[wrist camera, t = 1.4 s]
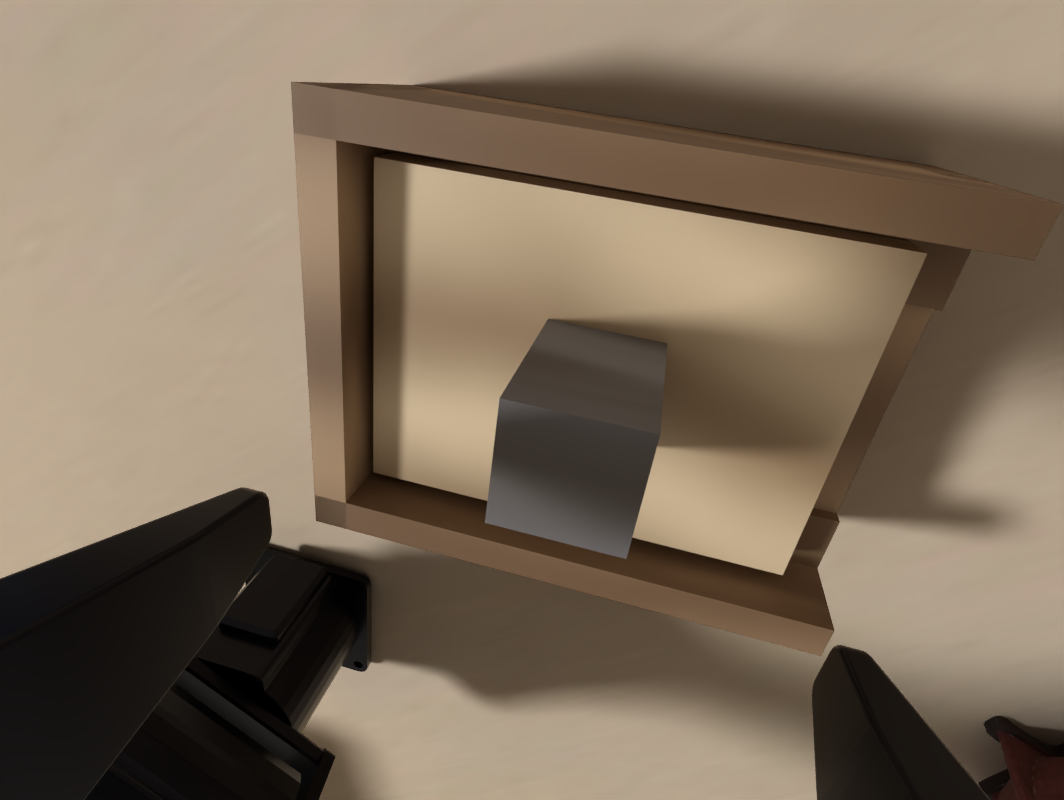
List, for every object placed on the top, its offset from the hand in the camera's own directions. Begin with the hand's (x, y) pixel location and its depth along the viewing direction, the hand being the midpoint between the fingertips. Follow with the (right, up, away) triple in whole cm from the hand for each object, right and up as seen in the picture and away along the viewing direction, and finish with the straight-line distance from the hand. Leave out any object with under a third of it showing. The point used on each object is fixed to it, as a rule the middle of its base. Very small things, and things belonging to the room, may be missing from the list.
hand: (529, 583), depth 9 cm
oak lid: (+2, +4, +7) cm, 8 cm away
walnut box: (+3, +6, +11) cm, 12 cm away
